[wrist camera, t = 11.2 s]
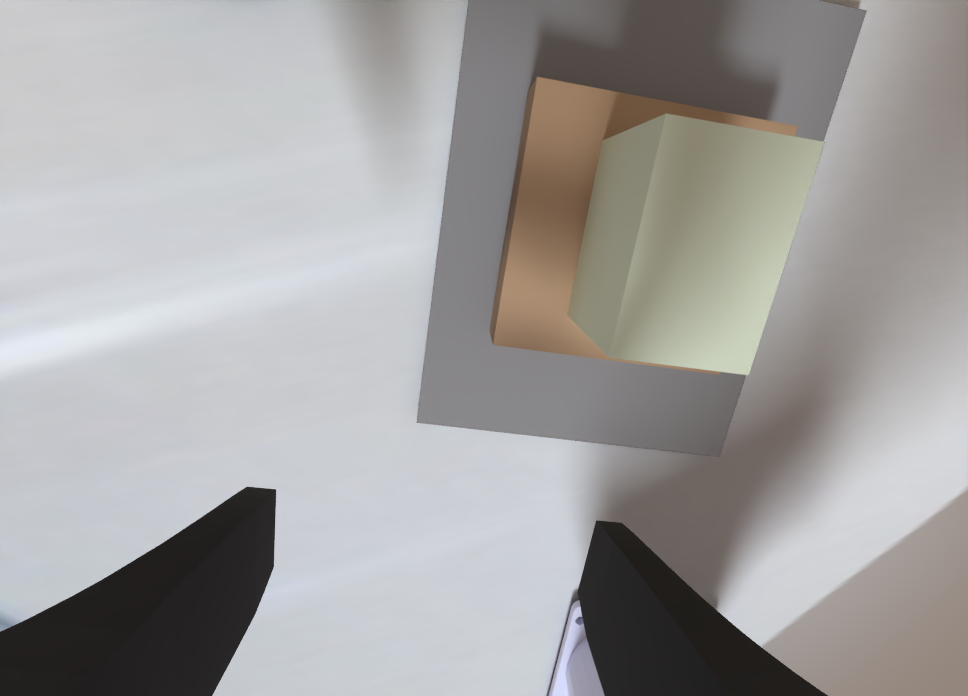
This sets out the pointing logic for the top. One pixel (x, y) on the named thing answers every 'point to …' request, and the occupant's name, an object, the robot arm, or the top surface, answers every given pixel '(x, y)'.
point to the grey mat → (490, 175)
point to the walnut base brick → (567, 207)
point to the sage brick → (689, 240)
